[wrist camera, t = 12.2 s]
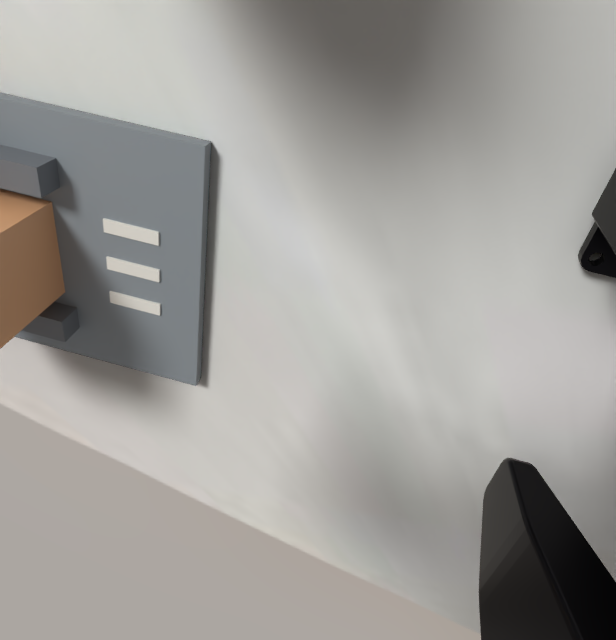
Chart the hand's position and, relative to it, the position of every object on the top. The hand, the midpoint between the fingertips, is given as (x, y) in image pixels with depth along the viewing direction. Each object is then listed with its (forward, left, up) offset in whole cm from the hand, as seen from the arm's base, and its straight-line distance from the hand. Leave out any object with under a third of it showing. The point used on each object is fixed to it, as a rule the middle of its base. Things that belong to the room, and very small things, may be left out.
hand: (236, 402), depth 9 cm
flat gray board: (+12, +6, -12) cm, 18 cm away
